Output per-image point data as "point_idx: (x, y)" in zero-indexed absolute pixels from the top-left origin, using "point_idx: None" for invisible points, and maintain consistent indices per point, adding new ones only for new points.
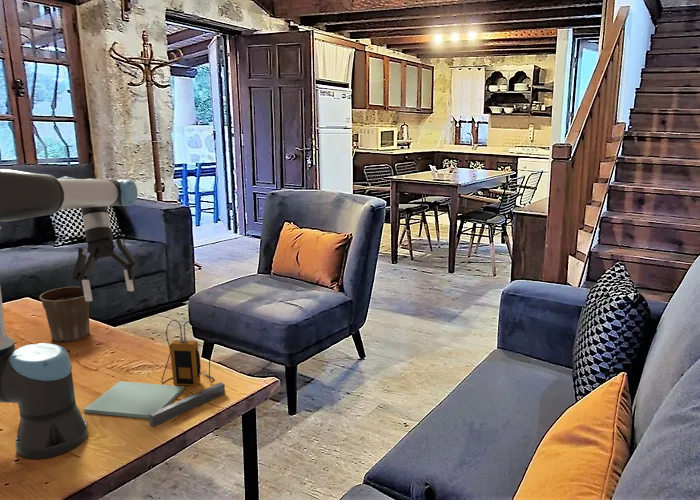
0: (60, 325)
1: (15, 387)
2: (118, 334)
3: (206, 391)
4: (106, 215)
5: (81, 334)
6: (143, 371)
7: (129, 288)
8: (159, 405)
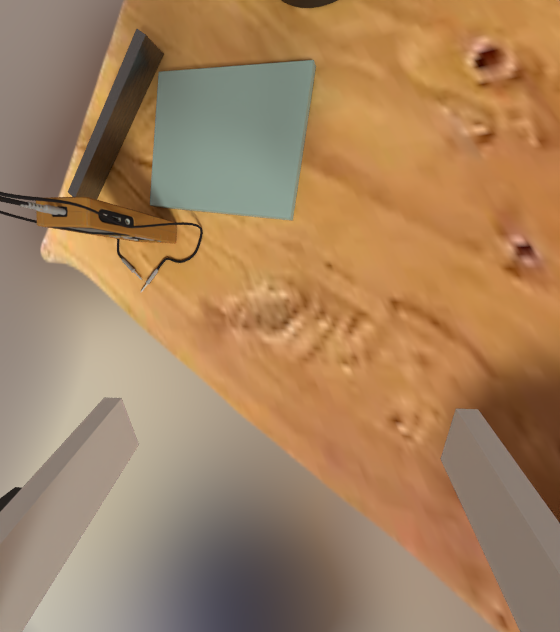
0: None
1: None
2: (436, 557)
3: (85, 155)
4: None
5: None
6: (265, 293)
7: (94, 409)
8: (163, 115)
